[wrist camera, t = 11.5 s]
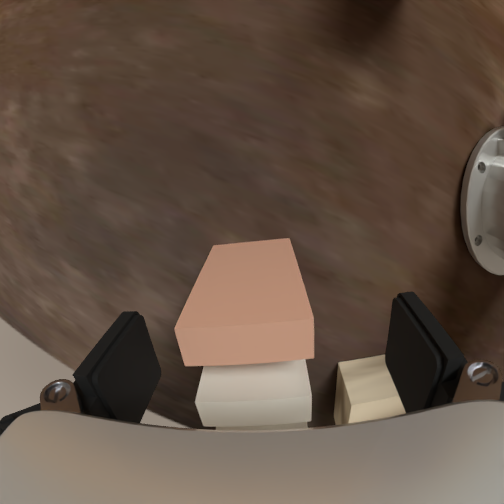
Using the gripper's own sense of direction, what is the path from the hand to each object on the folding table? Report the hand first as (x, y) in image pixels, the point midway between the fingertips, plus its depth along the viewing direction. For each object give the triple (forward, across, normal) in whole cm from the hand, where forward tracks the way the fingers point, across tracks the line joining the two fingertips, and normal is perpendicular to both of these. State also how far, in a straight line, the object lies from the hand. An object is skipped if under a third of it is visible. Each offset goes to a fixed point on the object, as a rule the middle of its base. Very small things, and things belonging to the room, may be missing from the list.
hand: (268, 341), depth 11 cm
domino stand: (+10, -9, +14) cm, 19 cm away
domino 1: (+10, +1, 0) cm, 10 cm away
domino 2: (+10, +1, +4) cm, 11 cm away
